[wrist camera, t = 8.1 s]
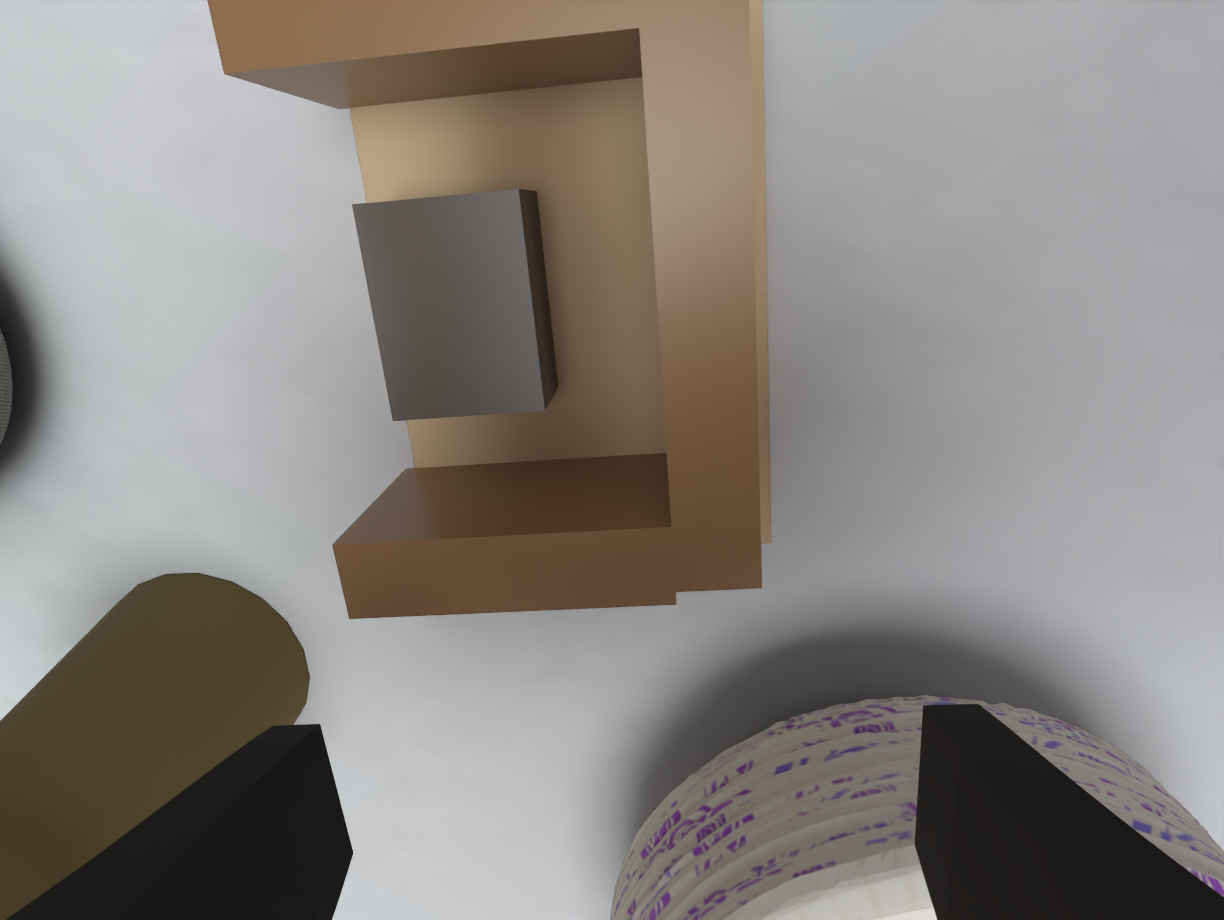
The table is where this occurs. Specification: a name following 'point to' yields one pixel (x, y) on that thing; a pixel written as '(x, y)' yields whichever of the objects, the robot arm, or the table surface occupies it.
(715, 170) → the wooden c-shaped bracket
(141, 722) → the olive pepper mill
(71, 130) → the table surface
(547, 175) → the display stand
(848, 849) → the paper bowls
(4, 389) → the smart speaker
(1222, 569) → the table surface
